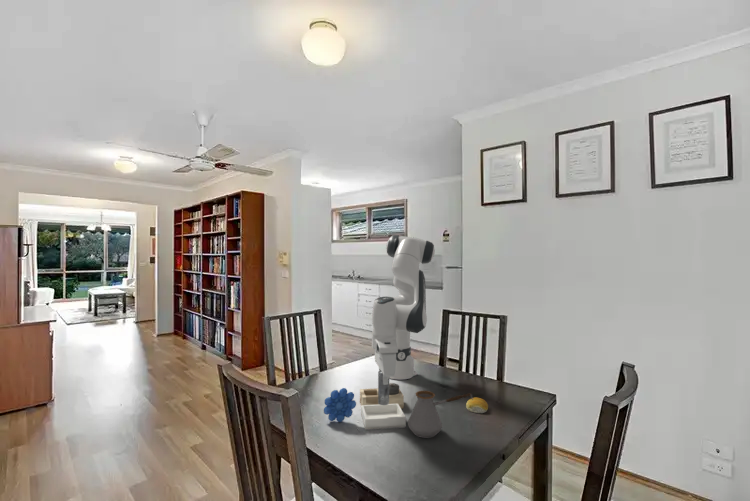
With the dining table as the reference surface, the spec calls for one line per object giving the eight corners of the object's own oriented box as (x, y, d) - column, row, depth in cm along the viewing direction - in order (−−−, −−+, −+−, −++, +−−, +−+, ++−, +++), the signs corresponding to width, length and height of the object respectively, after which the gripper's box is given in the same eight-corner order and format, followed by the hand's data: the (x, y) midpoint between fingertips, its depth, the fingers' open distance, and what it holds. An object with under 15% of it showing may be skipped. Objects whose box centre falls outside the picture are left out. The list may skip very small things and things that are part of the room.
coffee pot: (404, 437, 121) (404, 391, 121) (411, 422, 132) (412, 380, 132) (471, 448, 114) (472, 399, 115) (473, 432, 125) (474, 387, 126)
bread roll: (488, 406, 148) (488, 396, 148) (487, 415, 140) (487, 404, 140) (466, 403, 151) (467, 393, 151) (464, 411, 142) (464, 401, 142)
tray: (360, 414, 138) (361, 405, 138) (397, 412, 140) (398, 403, 140) (365, 429, 126) (365, 419, 126) (405, 427, 128) (405, 417, 128)
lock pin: (377, 401, 134) (377, 370, 135) (387, 400, 135) (388, 370, 135) (379, 405, 131) (379, 373, 131) (390, 404, 131) (390, 373, 131)
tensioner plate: (359, 401, 150) (359, 381, 150) (398, 399, 153) (398, 379, 153) (362, 410, 141) (362, 389, 141) (403, 408, 144) (403, 387, 144)
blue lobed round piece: (357, 417, 135) (357, 384, 136) (355, 425, 129) (355, 391, 129) (325, 416, 136) (326, 383, 136) (321, 424, 130) (322, 389, 130)
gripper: (371, 336, 143) (370, 372, 143) (380, 349, 123) (380, 391, 123) (387, 336, 144) (386, 372, 144) (399, 349, 124) (398, 391, 124)
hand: (383, 381), depth 133 cm, fingers closed on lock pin, 4 cm apart
